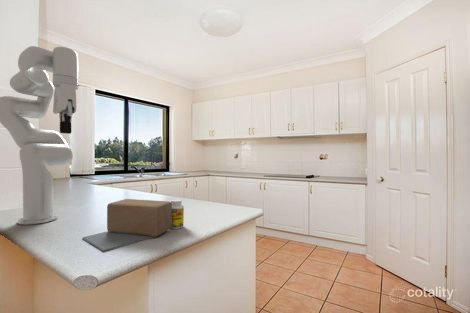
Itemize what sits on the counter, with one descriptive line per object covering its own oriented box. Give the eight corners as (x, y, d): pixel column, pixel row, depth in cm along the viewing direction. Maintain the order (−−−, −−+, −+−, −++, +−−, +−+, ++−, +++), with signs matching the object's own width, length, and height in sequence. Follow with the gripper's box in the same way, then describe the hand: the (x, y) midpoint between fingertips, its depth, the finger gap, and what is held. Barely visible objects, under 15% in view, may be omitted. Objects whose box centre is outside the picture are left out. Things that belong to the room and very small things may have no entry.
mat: (82, 238, 77) (82, 237, 77) (135, 225, 91) (135, 224, 91) (103, 251, 67) (103, 250, 67) (159, 235, 81) (159, 233, 81)
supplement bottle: (167, 230, 86) (168, 201, 86) (168, 225, 92) (168, 199, 91) (183, 229, 87) (183, 201, 87) (183, 224, 93) (183, 198, 93)
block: (105, 232, 82) (157, 237, 77) (105, 203, 82) (157, 207, 77) (125, 224, 91) (172, 228, 86) (125, 198, 91) (172, 201, 86)
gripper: (47, 84, 89) (47, 133, 89) (59, 76, 79) (59, 131, 80) (70, 88, 95) (70, 134, 95) (84, 81, 85) (84, 133, 85)
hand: (65, 133), depth 87 cm, fingers closed
